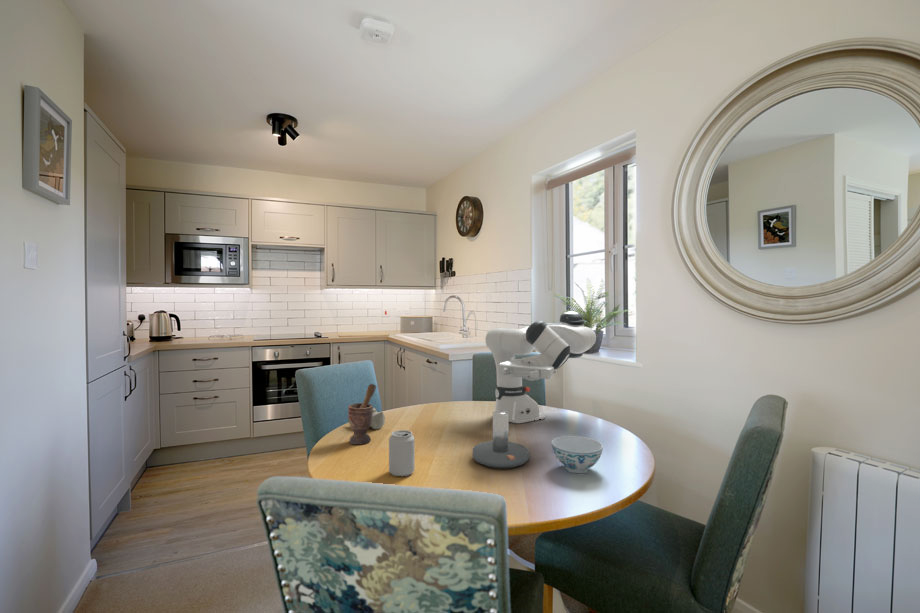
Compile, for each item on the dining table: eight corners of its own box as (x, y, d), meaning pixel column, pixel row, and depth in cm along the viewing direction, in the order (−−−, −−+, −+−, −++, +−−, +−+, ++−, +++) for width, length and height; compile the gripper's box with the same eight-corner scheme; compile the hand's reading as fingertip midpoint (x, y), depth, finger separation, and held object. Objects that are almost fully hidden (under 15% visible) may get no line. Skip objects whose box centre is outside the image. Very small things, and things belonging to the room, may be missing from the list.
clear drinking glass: (504, 446, 139) (504, 410, 139) (510, 451, 135) (511, 414, 135) (490, 448, 138) (490, 411, 138) (496, 453, 133) (496, 415, 133)
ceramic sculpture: (372, 410, 164) (347, 407, 173) (372, 433, 164) (347, 428, 172) (392, 405, 172) (367, 402, 181) (392, 427, 172) (367, 422, 181)
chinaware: (572, 482, 119) (572, 455, 119) (541, 463, 133) (541, 439, 133) (613, 474, 125) (613, 448, 125) (580, 456, 139) (580, 433, 139)
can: (409, 479, 122) (409, 437, 121) (385, 476, 123) (385, 435, 123) (417, 469, 129) (417, 429, 129) (394, 467, 130) (394, 428, 130)
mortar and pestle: (357, 434, 162) (357, 382, 162) (379, 435, 161) (379, 383, 160) (344, 444, 151) (344, 388, 150) (367, 446, 149) (367, 389, 149)
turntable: (464, 450, 142) (464, 442, 142) (513, 444, 148) (513, 436, 148) (485, 470, 125) (485, 461, 125) (539, 462, 131) (539, 454, 131)
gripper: (559, 379, 152) (545, 386, 141) (508, 374, 163) (490, 379, 152) (559, 362, 152) (545, 367, 141) (508, 358, 163) (491, 362, 152)
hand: (516, 373), depth 146 cm, fingers open, 8 cm apart
